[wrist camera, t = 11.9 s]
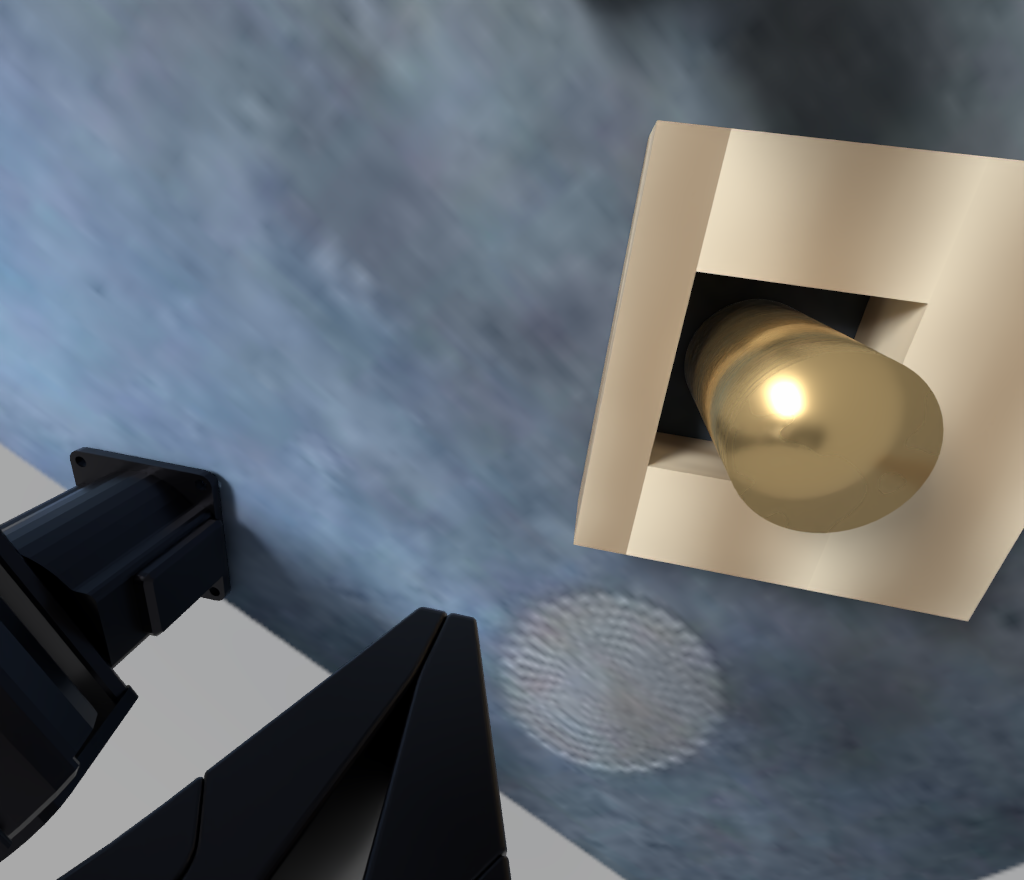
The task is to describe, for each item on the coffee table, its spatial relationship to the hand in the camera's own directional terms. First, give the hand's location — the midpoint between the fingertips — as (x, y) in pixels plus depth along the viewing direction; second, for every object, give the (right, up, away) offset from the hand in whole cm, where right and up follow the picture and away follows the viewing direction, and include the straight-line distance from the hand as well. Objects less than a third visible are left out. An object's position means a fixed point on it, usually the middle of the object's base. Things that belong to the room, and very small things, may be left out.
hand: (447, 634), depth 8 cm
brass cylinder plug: (+9, +5, +9) cm, 14 cm away
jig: (+10, +5, +9) cm, 15 cm away
